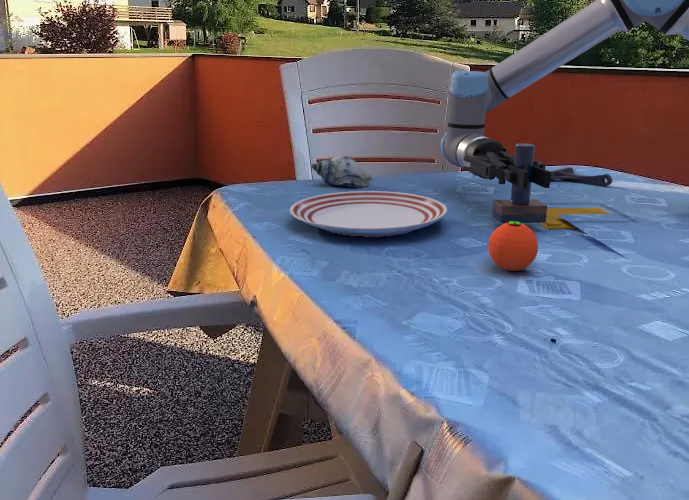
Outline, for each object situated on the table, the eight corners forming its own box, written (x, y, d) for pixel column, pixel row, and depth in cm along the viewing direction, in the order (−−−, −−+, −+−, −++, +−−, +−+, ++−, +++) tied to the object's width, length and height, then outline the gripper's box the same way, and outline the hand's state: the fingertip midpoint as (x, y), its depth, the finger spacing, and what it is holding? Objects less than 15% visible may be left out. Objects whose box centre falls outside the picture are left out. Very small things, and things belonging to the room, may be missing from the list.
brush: (535, 215, 126) (542, 142, 122) (545, 222, 121) (553, 147, 118) (491, 216, 125) (497, 142, 122) (500, 223, 121) (507, 147, 117)
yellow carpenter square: (599, 209, 138) (599, 205, 138) (634, 228, 125) (635, 223, 125) (520, 210, 137) (520, 206, 136) (547, 229, 123) (548, 224, 123)
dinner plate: (297, 248, 110) (297, 227, 109) (284, 207, 136) (283, 190, 135) (467, 243, 114) (469, 223, 113) (423, 204, 140) (423, 188, 139)
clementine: (483, 259, 106) (487, 213, 104) (530, 261, 105) (535, 215, 103) (488, 276, 98) (492, 227, 96) (539, 278, 98) (544, 229, 96)
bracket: (594, 191, 155) (596, 178, 154) (535, 180, 165) (536, 169, 165) (624, 183, 165) (626, 171, 164) (566, 174, 175) (568, 162, 174)
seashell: (364, 196, 154) (312, 190, 157) (373, 176, 159) (322, 171, 162) (361, 171, 149) (308, 166, 153) (371, 152, 155) (319, 148, 158)
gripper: (519, 174, 141) (580, 201, 119) (441, 176, 137) (488, 204, 115) (522, 137, 138) (585, 156, 116) (443, 137, 135) (492, 158, 113)
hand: (537, 180), depth 116 cm, fingers closed on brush, 3 cm apart
